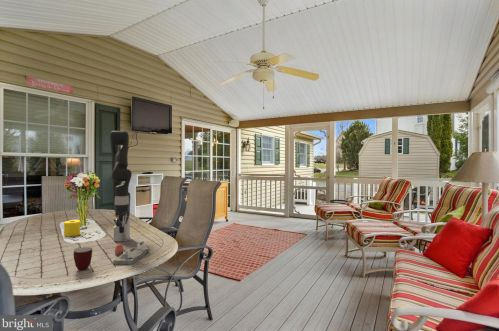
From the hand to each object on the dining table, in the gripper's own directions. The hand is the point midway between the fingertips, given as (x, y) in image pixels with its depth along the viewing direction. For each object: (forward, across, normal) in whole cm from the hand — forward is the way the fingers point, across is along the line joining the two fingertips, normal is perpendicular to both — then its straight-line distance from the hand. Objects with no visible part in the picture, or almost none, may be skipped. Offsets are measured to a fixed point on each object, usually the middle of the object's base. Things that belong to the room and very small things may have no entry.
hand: (121, 232), depth 161 cm
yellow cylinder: (+14, +36, +58) cm, 70 cm away
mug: (+13, -23, +8) cm, 27 cm away
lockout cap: (+13, 0, +1) cm, 13 cm away
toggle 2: (+10, +2, -11) cm, 15 cm away
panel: (+13, -4, -8) cm, 16 cm away
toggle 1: (+10, -10, -12) cm, 18 cm away
